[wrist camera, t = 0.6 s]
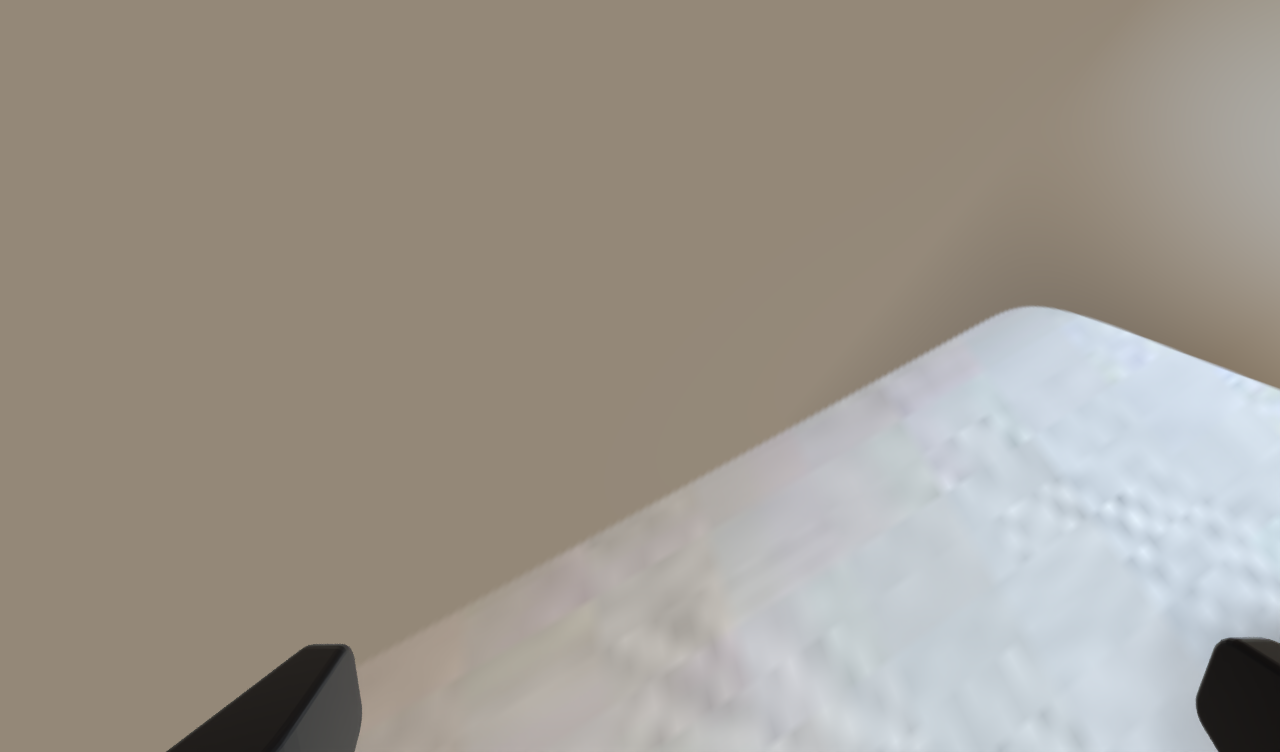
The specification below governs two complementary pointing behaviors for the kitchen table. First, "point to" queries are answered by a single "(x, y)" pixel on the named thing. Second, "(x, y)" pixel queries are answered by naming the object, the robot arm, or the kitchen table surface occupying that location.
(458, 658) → the kitchen table surface
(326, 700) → the robot arm
